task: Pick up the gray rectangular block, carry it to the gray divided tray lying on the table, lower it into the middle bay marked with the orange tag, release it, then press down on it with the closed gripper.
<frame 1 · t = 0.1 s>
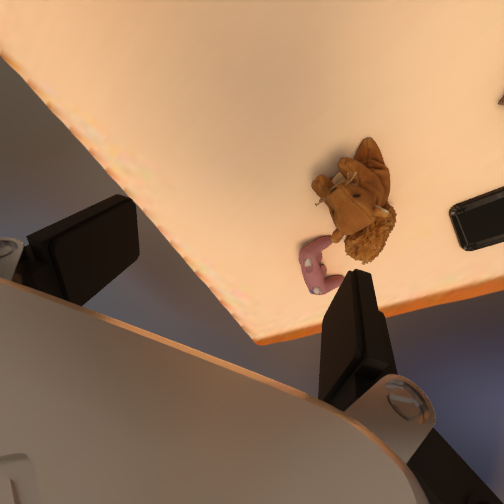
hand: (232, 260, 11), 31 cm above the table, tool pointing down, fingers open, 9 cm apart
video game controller: (322, 259, 46), on the table
stuffed squirrel: (358, 193, 38), on the table
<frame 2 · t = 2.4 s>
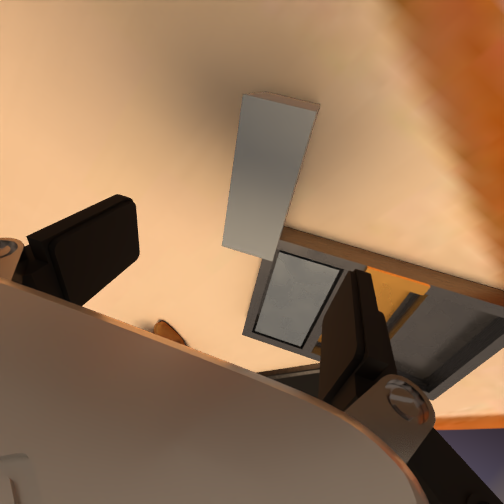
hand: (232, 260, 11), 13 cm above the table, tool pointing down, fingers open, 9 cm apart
gray rectangular block: (276, 167, 21), on the table
gray divided tray: (358, 309, 27), on the table
phone: (301, 381, 37), on the table
stuffed squirrel: (174, 351, 41), on the table
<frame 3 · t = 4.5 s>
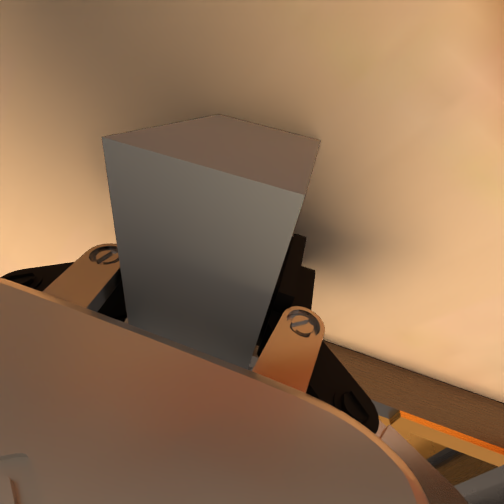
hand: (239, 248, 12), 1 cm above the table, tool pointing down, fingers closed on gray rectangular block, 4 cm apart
gray rectangular block: (245, 238, 12), on the table, touching gripper
gray divided tray: (376, 431, 18), on the table
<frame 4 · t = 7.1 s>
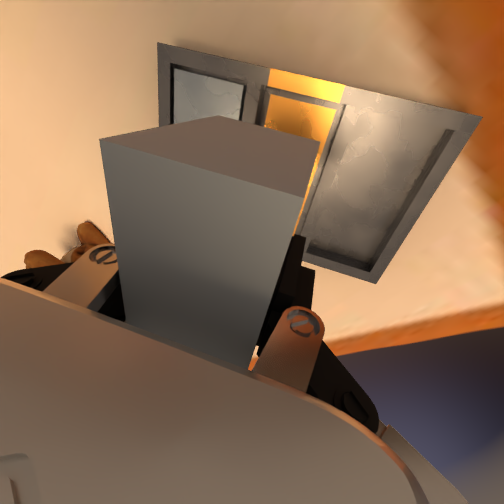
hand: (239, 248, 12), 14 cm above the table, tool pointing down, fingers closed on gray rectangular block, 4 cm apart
gray rectangular block: (245, 239, 12), point 13 cm above the table, touching gripper
gray divided tray: (285, 171, 23), on the table
stuffed squirrel: (110, 268, 37), on the table
when the fingers open (3 cm above the table, at t = 9.6 s): gray rectangular block drops 1 cm, resting on gray divided tray.
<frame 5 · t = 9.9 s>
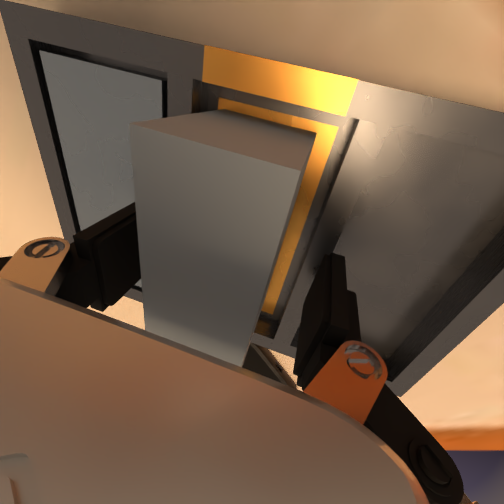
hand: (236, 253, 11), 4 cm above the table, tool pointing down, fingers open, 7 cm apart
gray rectangular block: (247, 225, 13), point 1 cm above the table, touching gray divided tray
gray divided tray: (256, 220, 14), on the table
phone: (213, 368, 24), on the table
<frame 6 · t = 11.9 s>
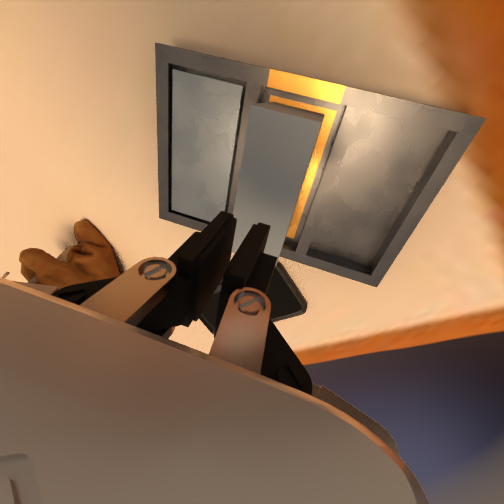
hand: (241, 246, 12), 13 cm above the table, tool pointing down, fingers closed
gray rectangular block: (281, 174, 22), point 1 cm above the table, touching gray divided tray
gray divided tray: (285, 172, 22), on the table
phone: (244, 298, 33), on the table
stuffed squirrel: (107, 267, 36), on the table
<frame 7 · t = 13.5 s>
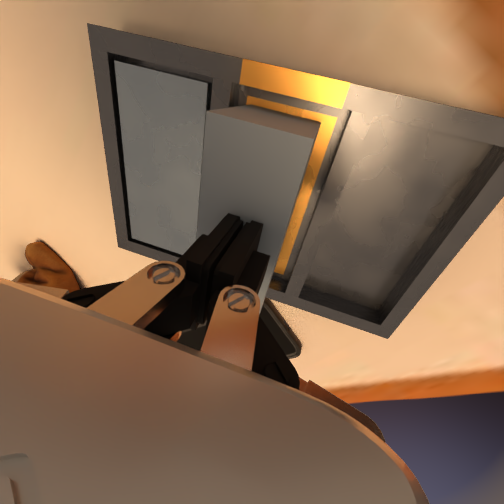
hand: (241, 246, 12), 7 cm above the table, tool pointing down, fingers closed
gray rectangular block: (265, 197, 17), point 1 cm above the table, touching gripper, gray divided tray
gray divided tray: (271, 194, 18), on the table
phone: (228, 334, 28), on the table
stuffed squirrel: (71, 293, 31), on the table
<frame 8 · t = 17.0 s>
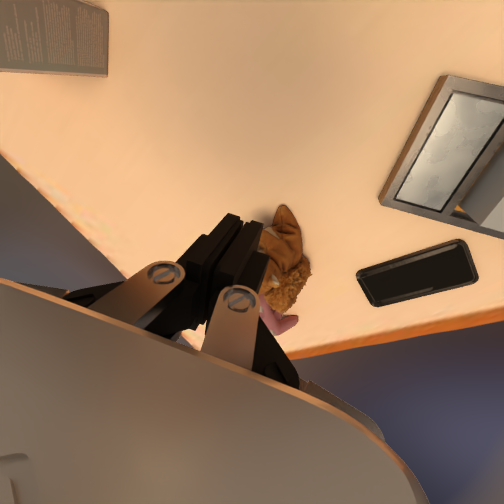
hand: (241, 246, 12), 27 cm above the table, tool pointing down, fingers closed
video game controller: (277, 301, 50), on the table
gray divided tray: (501, 169, 29), on the table
phone: (411, 273, 40), on the table
grey carton box: (60, 24, 34), on the table
stuffed squirrel: (282, 247, 43), on the table
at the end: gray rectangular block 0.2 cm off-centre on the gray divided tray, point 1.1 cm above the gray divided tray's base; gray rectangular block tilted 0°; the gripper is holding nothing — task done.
